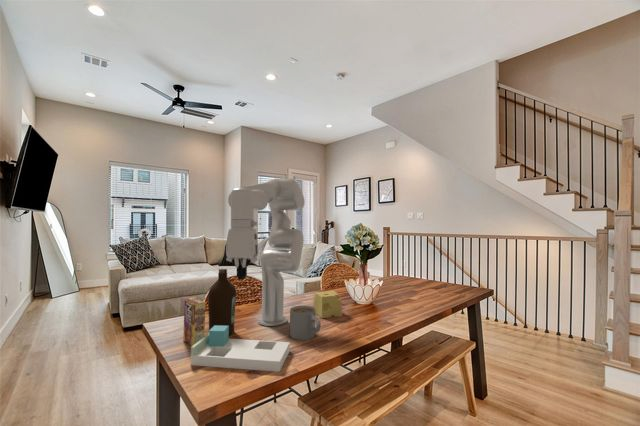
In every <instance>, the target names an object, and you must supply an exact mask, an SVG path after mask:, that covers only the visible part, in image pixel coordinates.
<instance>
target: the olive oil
mask: <svg viewBox="0 0 640 426" xmlns="http://www.w3.org/2000/svg"><path fill="white" fill-rule="evenodd" d="M217 275H218V276H217V277H218V278H217V280H216V281H215V282H214V283H213V284H212V286H211V287H210V288H209V290H208V293H207V301H208V303H207V304H208V305H207V307H208V331H209V330H210V329H211V328H212V327H213V326H214V325H217V326H229V336H231V335H233V334H234V332H235V321H236V320H235V318H236V307H237V305H236V304H237V303H236V301H237V289H236V287H235V285H234V284H233V283H232V282H231V281H230V280H229V279H228V269H227V268H220V269H218V274H217Z"/></svg>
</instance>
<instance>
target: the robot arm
mask: <svg viewBox="0 0 640 426" xmlns="http://www.w3.org/2000/svg"><path fill="white" fill-rule="evenodd" d="M227 197H228V199H227V202H228V205H229V207H230V228H229V229H228V232H227V237H226V245H225V254H226V258H225V260H226V262H230V263H232V264H233V265H234V266H235V268H236V277H237V280H240V281H241V280H244V279H246V278H247V275H248V266H249V265H250V264H251V263H255V262H257V261H258V260H259V259H258V255H259V241H258V231H257V229H256V228H254V227H255V226H258V222H257V221H255V219H254V218H255V217H254V213H255V211H262V210H265V209H266V208H267V206H268V205H269V209H270V214H271V216H272V223H271V227H270V232H269V237H268V245H269V247H270V248H271V249H266V250H264V251H263V252H262V253H261V255H260V256H259V257H260V267H261V282H262V283H261V316H260V317H258V319H257V323H258V324H260V325H261V326H266V327H276V326H281V325H284V324H286V323H287V322H288V318H287V316H285V315H284V312H285V311H284V305H285V304H284V302H285V297H284V296H285V293H284V292H285V281H284V277H283V275H282V274H281V272H282V273H283V272H284V273H295V272H298V271H299V269H300V265H301V259H302V253H303V249H304V248H303V246H304V234H303V232H302V231H301V230H300V229H297V228H291V219H290V217H289V215H288V214H286V212H285V211H301V210H302V209H303V208H304V206H305V197H304V194H303V192H302V189H301V187H300V185H299V183H298V182H297V181H296V180H295V179H293V178H273V179H269V180H267V181H265V182H261V183H256V184H252V185H251V184H250V185H245V186H242V187H241V186H240V187H237V188H233V189H232V190H231V191H230V192H229V194H228V196H227Z"/></svg>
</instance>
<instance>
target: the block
mask: <svg viewBox="0 0 640 426" xmlns="http://www.w3.org/2000/svg"><path fill="white" fill-rule="evenodd" d="M208 334H209V346H224V345H225V344H226V343H227V342H228V340H229V339H230V335H229V326H217V325H214V326H213V327H212V328H211V329H210V330H209V329H208Z"/></svg>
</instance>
